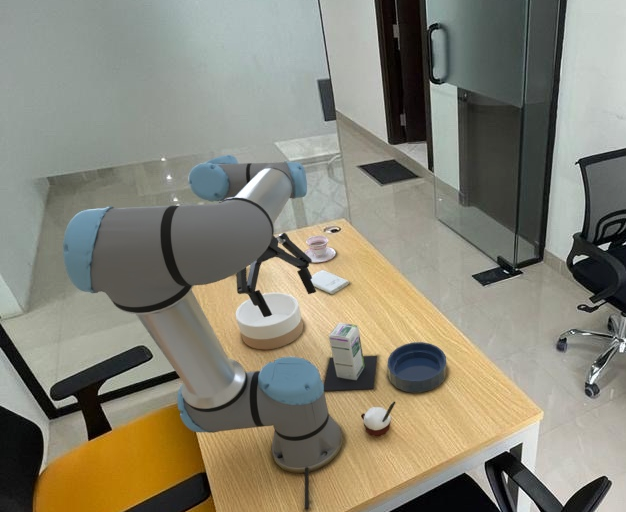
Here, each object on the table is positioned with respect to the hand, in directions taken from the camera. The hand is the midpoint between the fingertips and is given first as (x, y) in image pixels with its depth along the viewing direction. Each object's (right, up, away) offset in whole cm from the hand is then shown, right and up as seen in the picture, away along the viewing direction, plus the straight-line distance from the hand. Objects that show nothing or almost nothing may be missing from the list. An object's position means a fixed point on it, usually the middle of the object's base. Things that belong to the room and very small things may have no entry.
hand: (291, 304), depth 123 cm
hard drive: (-6, +8, +48) cm, 49 cm away
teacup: (-13, +19, +63) cm, 67 cm away
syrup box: (+12, -18, +12) cm, 25 cm away
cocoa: (+23, -31, -4) cm, 39 cm away
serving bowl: (+30, -19, +13) cm, 37 cm away
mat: (+12, -19, +12) cm, 25 cm away
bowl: (-15, -8, +26) cm, 31 cm away
